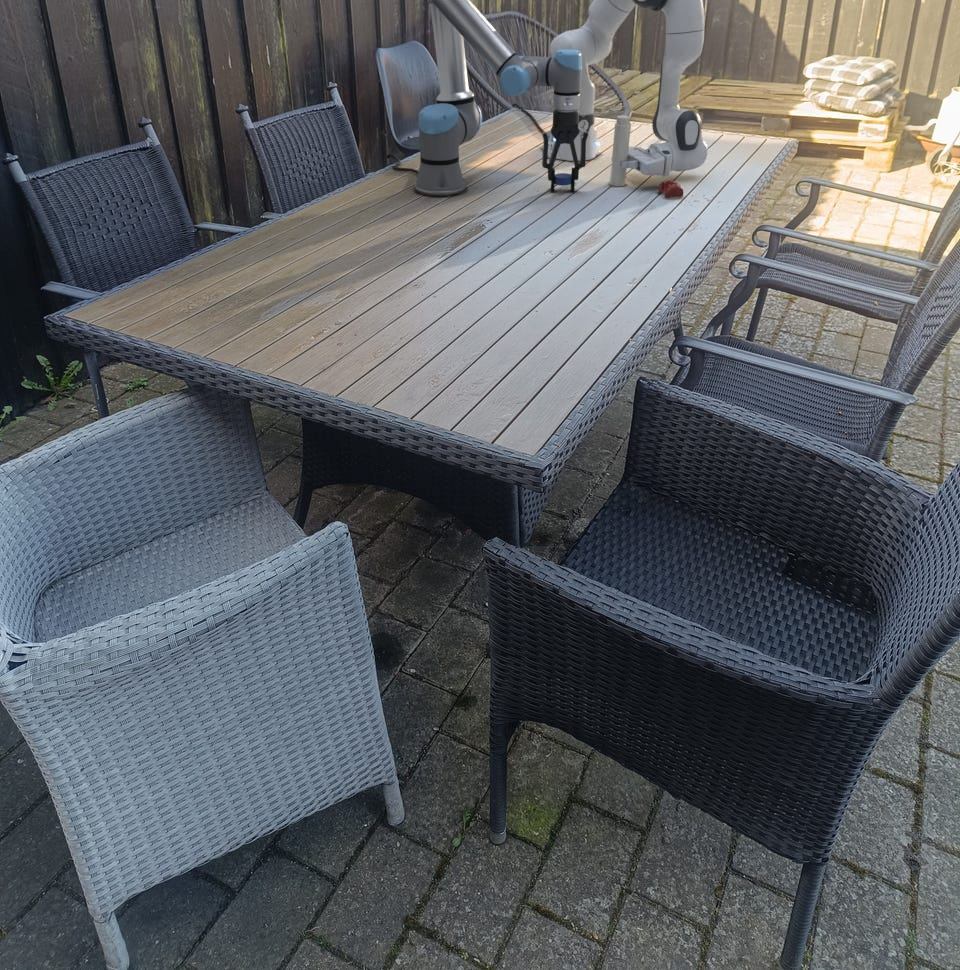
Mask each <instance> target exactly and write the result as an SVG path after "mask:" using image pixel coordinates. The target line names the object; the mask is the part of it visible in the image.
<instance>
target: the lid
mask: <svg viewBox="0 0 960 970" xmlns="http://www.w3.org/2000/svg"><path fill="white" fill-rule="evenodd" d="M571 174H572V173H567V172H560V173H555V184H554V185H556V186H561V187H562V186H564V187H565V186H571V184H572V175H571Z"/></svg>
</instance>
